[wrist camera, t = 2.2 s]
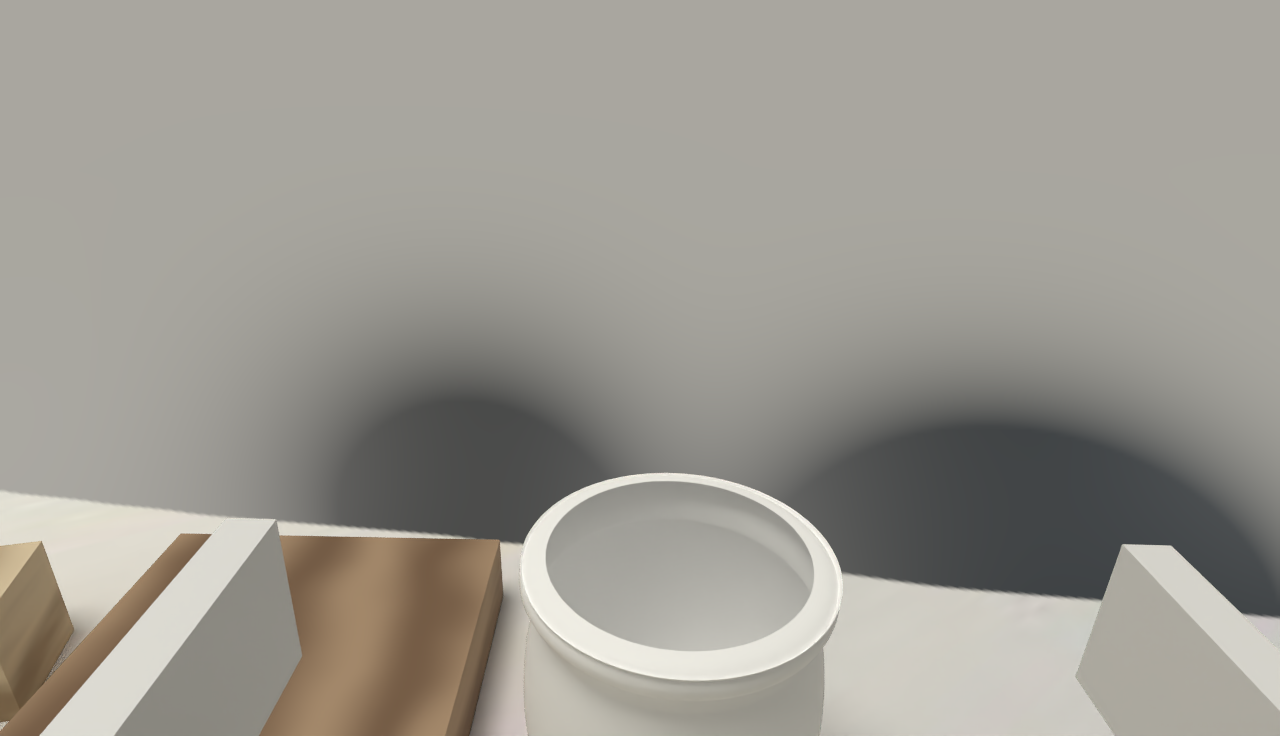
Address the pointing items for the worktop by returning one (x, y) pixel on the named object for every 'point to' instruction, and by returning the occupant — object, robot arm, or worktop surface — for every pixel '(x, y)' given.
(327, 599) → the walnut slab
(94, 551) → the worktop surface
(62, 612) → the oak cube
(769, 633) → the jar
